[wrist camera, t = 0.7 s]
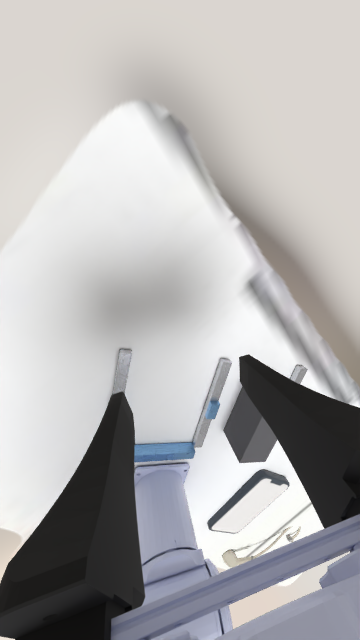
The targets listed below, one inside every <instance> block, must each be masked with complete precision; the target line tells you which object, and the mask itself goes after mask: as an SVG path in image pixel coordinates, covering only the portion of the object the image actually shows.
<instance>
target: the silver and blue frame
mask: <svg viewBox="0 0 360 640" xmlns="http://www.w3.org/2000/svg"><path fill="white" fill-rule="evenodd" d="M131 355H132V352H131V350H123V349H120V352H119V358H118V364H117V371H116V377H115V383H114V389H113V394H115V393H119V392H122V391H123V392H124V393H125V388H126V382H127V377H128V371H129V366H130V360H131ZM231 364H232V362H231V361H230V360H229V359H220V362H219V365H218V368H217V371H216V374H215V377H214V379H213V382H212V385H211V388H210V391H209V394H208V397H207V400H206V403H205V406H204V409H203V412H202V415H201V418H200V421H199V424H198V427H197V430H196V433H195V436H194V438H193V441H192V442H190V443H166V444H142V445H135V454H134V462H147V461H162V460H177V459H192V458H193V457H194V454H195V450H194V447H202V445H203V442H204V439H205V436H206V434H207V431H208V428H209V425H210V422H211V420H212V419H215V417H216V414H217V412H218V409H219V406H220V403H219V402H218V400H219V398H220V395H221V392H222V389H223V387H224V384H225V381H226V378H227V376H228V373H229V370H230V367H231ZM306 371H307V369H306V368H305V367H304V366H296V368H295V370H294V372H293V374H292V376H291V378H290V380H292V381H294V382H296V383H298V384H300V383H301V381H302V379H303V377H304V375H305V373H306Z"/></svg>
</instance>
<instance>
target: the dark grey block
mask: <svg viewBox="0 0 360 640" xmlns="http://www.w3.org/2000/svg"><path fill="white" fill-rule="evenodd" d="M223 431H224V433H225V435H226V437H227V439H228V441H229V443H230V445H231V447H232V449H233V451H234V453H235V455H236V457H237V459H238V461H239V463H249V462H265V461H266V459H267V457H268V456H269V454H270V452H271V450H272V448H273V446H274V445H275V443H276V441H277V437H276V436H275V434H274V433H273V431H272V430H271V428H270V427H269V425H268V424H267V422H266V421H265V419H264V418H263V417H262V415H261V414H260V412H259V411H258V410H257V408H256V407H255V405H254V404H253V402H252V401H251V399H250V398H249V397H248V395H247V393H246V391H245V389H244V388H243V387H242V389H241V391H240V393H239V396H238V398H237V400H236V403H235V405H234V407H233V410H232V412H231V414H230V417H229V419H228V421H227V423H226V426H225V428H224V430H223Z"/></svg>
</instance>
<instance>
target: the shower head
mask: <svg viewBox="0 0 360 640" xmlns="http://www.w3.org/2000/svg"><path fill="white" fill-rule="evenodd" d="M290 528H291V527H289V528H287V529H286V530H285V531H284V532H283V533H282V534H281V535H280V536H279V537H278V538H277V539H276V540H275V541H274V542H273V543H272V544H271V545H270V546H269V547H267V548H266V549H265V550H263V551H262V552H260V553H259V554H257V555H255V556H251V557H244V558H237V557H236V554H235V553H234V552H232V551H231V550H229V551H227V552H225V553H224V554H223V556H222V557H223V560H224V562H225V563H226V564H227V565H228V566H229V567H232V568H233V567H235V566H237V565H240V564H243V563H245V562H247V561H250V560H252V559H254V558H256V557H258V556H260V555H261V554H263V553H264V552H266V551H267V550H268V549H269V548H271V547H272V546H273V545H274V544H275V543H276V542H277V541H278V540H279V539H280V538H281V536H282V535H283V534H284V533H285V532H286V531H287V530H288V529H290ZM300 528H301V527H299V529H298V532H297V533H296V534H295V535H294V536H293V537H291V536H290V535H288V536H287V539H288V541H289V542H293V539H294V538H295V537H296V536H297V535H298V534H299V532H300ZM288 537H289V538H288Z"/></svg>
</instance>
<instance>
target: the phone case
mask: <svg viewBox="0 0 360 640" xmlns="http://www.w3.org/2000/svg"><path fill="white" fill-rule="evenodd" d="M288 487H289V482H288V480H287V479H286V478H285V477H284V476H281V475H278V474H275V473H272V472H270V471H267V470H260V471H258V472H257V473H256V474H255V475H253V476H252V477H251V478H250V479H249V480H248V481H247V482H246V483H245V484H244V485H243V486H242V487H241V489H240V490H239V491H238V492H237V493H236V494H235V495H234V496H233V497H232V498H231V499H230V500H229V501H228V502H227V503H226V504H225V505H224V506H223V507H222V508H221V509H220V510H219V511H218V512H217V513H216V514H215V515H214V516H213V517H212V518H211V519H210V520H209V521H208V527H209V529H210V530H211V531H219V532H226V533H238V532H240V531H241V530H242V529H243V528H244V527H245V526H246V525H248V524H249V523H250V522H251V521H252V520H253V519H254V518H255V517H256V516H257V515H259V514H260V513H261V512H262V511H263V510H264V509H265V508H266V507H267V506H269V505H270V504H271V503H272V502H273V501H274V500H275V499H276V498H277V497H279V496H280V495H281V494H282V493H283V492H284V491H285V490H286V489H287V488H288Z"/></svg>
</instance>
